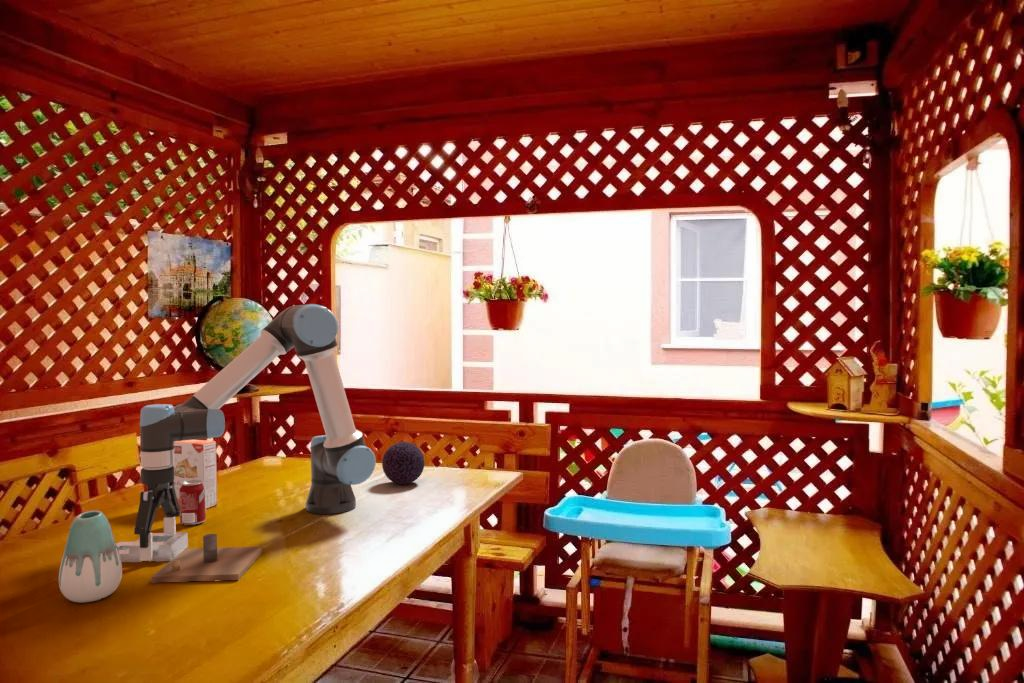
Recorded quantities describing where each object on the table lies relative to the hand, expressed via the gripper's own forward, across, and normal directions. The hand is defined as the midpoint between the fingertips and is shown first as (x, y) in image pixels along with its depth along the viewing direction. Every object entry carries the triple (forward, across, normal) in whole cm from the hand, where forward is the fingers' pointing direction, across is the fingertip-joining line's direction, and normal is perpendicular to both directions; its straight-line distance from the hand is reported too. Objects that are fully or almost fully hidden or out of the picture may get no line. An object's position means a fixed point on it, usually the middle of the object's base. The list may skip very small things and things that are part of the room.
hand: (158, 550), depth 173 cm
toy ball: (0, -70, +55) cm, 89 cm away
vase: (+1, +26, -3) cm, 26 cm away
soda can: (+1, -27, -2) cm, 27 cm away
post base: (+1, +10, +16) cm, 19 cm away
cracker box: (+1, -46, -9) cm, 47 cm away
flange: (+1, 0, -3) cm, 3 cm away
